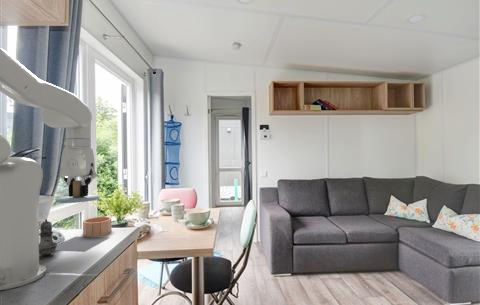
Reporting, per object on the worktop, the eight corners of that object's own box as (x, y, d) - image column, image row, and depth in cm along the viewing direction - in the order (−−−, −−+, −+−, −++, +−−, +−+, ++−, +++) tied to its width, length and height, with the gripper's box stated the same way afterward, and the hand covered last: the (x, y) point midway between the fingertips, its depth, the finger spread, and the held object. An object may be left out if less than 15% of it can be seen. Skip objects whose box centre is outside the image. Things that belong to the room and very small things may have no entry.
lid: (83, 203, 86) (83, 182, 86) (46, 202, 88) (46, 182, 88) (106, 197, 99) (107, 178, 99) (74, 196, 100) (74, 178, 101)
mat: (85, 252, 86) (84, 251, 86) (45, 251, 88) (45, 250, 88) (110, 238, 100) (110, 237, 100) (75, 237, 101) (75, 236, 101)
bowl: (101, 237, 102) (101, 223, 101) (77, 237, 102) (77, 222, 102) (116, 229, 111) (116, 216, 111) (93, 229, 112) (93, 216, 112)
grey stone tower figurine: (29, 259, 81) (29, 220, 81) (48, 252, 87) (48, 216, 87) (44, 261, 80) (43, 221, 79) (62, 254, 85) (61, 217, 85)
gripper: (48, 144, 91) (48, 197, 90) (93, 143, 89) (93, 198, 89) (64, 145, 98) (64, 194, 98) (107, 144, 97) (107, 195, 96)
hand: (78, 195), depth 93 cm, fingers closed on lid, 3 cm apart
